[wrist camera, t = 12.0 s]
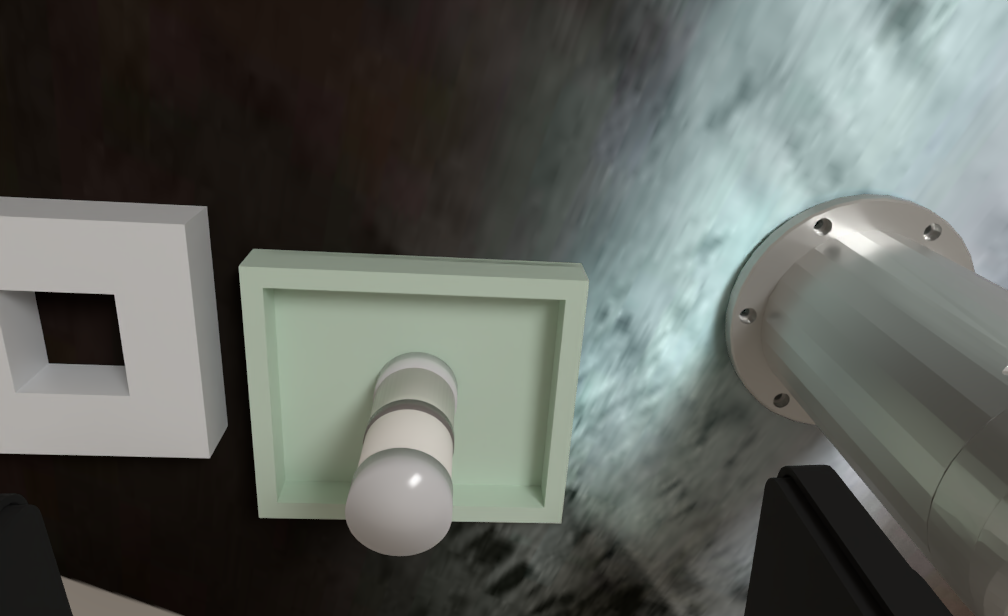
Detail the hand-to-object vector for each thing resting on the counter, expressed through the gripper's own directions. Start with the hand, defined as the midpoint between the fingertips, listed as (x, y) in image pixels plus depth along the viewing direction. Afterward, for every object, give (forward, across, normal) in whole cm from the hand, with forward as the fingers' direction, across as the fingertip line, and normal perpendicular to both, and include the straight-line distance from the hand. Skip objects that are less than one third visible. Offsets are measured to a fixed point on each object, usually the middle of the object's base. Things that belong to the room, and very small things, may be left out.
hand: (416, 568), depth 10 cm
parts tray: (+27, +2, +12) cm, 29 cm away
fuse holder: (+27, +18, +8) cm, 33 cm away
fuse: (+26, +2, +12) cm, 29 cm away
